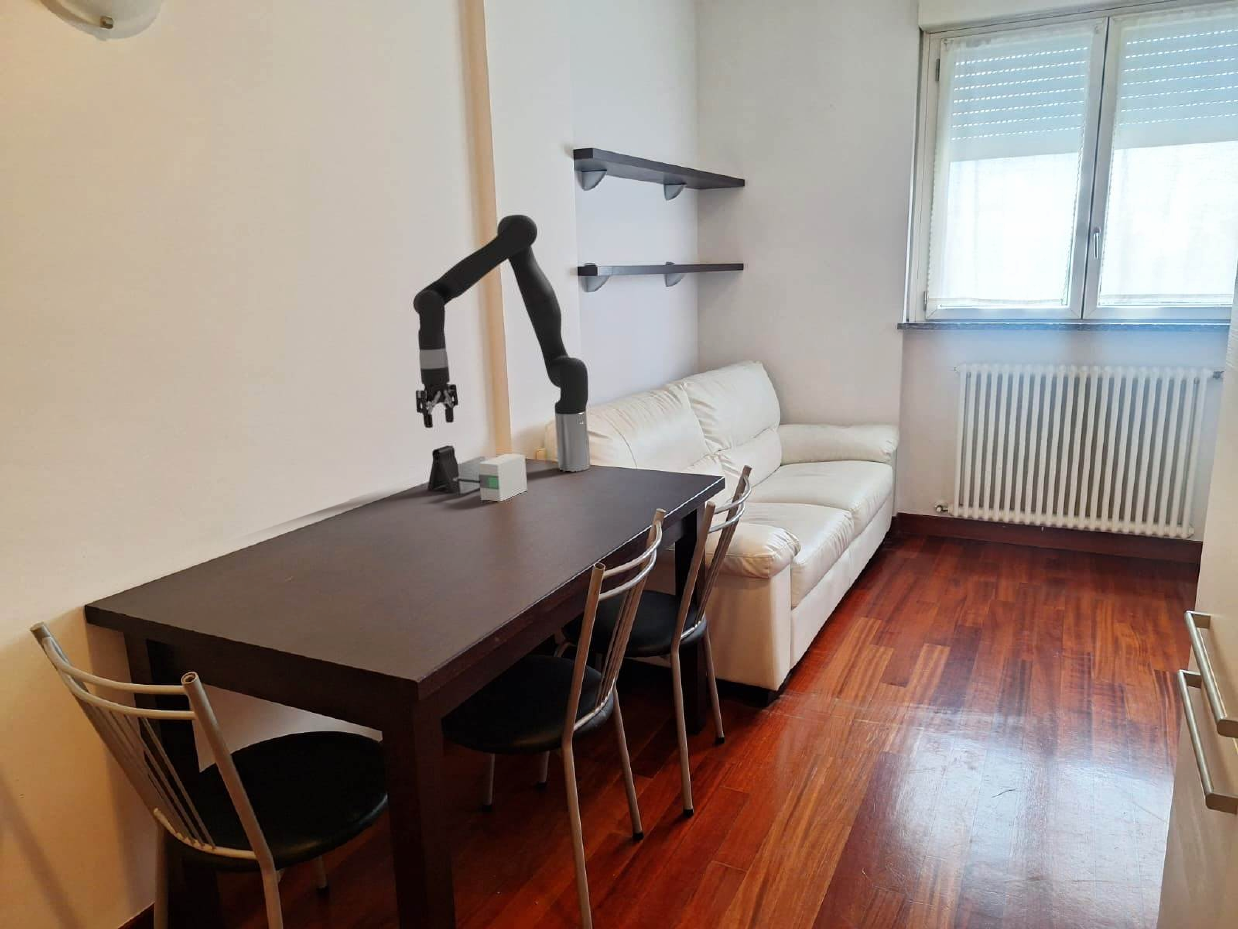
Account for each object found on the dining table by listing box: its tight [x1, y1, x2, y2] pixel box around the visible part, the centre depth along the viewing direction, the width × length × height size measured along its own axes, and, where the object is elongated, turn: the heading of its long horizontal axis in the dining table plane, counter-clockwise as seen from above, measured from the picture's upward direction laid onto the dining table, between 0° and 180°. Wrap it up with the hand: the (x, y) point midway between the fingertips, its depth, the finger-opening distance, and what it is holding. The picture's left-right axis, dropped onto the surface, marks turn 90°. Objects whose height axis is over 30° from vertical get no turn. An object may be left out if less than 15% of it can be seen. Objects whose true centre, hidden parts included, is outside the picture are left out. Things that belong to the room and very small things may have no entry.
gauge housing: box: [478, 453, 528, 502], centre depth 223 cm, size 12×6×10 cm, turn 151°
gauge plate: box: [453, 455, 486, 494], centre depth 226 cm, size 12×8×8 cm
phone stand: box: [426, 445, 460, 494], centre depth 233 cm, size 9×6×12 cm, turn 62°
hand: (439, 424), depth 230 cm, fingers open, 8 cm apart
